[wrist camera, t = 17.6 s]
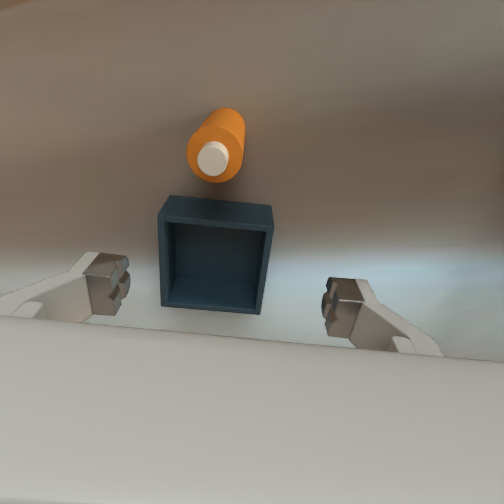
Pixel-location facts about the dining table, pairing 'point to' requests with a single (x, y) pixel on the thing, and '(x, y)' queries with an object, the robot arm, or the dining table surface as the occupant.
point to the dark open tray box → (214, 254)
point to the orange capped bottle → (217, 146)
